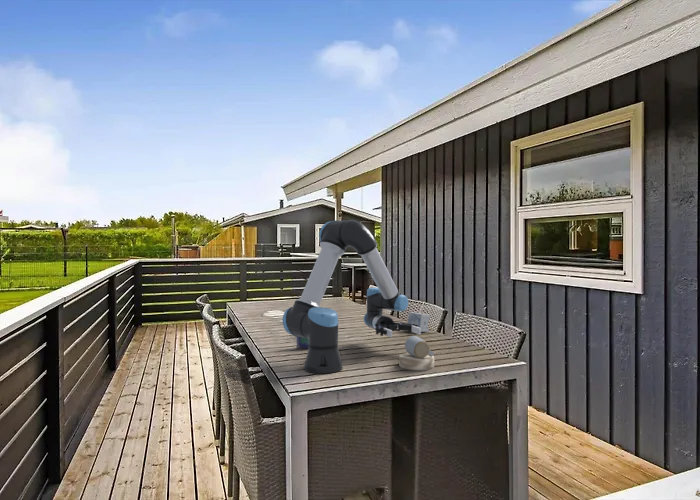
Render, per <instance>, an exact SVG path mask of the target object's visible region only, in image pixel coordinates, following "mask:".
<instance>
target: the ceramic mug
mask: <svg viewBox="0 0 700 500" xmlns="http://www.w3.org/2000/svg"><path fill="white" fill-rule="evenodd" d="M404 349H405V351H406V353H409V354H411V355H413V356H415V357H417V358H424V357H426V356H427V355H431V356H434V351H432V350H431V349H430V345H429V344H428V343H427V342H426V340H424V339H422V338H421V337H419V336H418V335H417V336H416V335H411V336H409V337H408V338H406V341H405V343H404Z"/></svg>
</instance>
